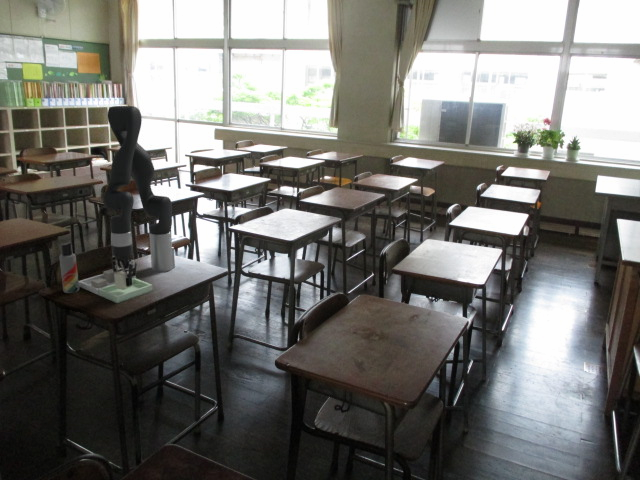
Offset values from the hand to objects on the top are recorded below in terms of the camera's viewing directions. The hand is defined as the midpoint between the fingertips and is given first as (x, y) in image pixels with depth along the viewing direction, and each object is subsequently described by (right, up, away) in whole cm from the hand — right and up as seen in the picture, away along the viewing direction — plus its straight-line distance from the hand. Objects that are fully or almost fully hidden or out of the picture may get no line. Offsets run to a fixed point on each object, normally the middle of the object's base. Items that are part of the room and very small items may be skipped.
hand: (125, 284), depth 200 cm
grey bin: (-11, -1, +9) cm, 14 cm away
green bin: (0, -4, +1) cm, 4 cm away
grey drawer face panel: (-6, +1, +16) cm, 17 cm away
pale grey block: (-11, -2, +3) cm, 12 cm away
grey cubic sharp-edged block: (-11, +1, +13) cm, 17 cm away
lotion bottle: (-22, -3, +2) cm, 22 cm away
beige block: (0, -1, 0) cm, 1 cm away
